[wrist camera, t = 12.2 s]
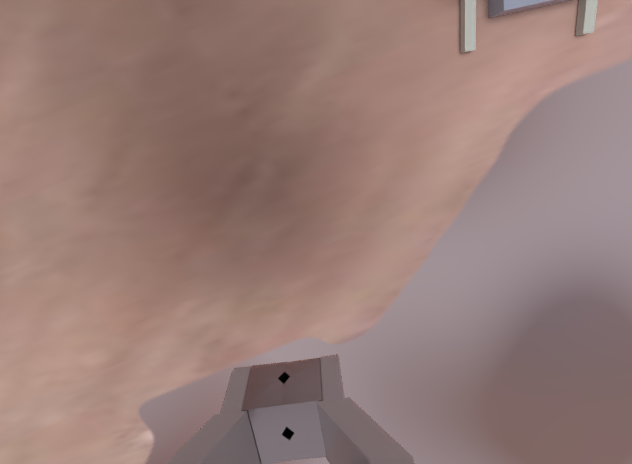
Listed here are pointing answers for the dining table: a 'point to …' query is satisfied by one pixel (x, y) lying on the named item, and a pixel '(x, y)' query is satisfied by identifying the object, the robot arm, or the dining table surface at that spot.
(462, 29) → the shelf
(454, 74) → the dining table surface
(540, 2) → the slab
